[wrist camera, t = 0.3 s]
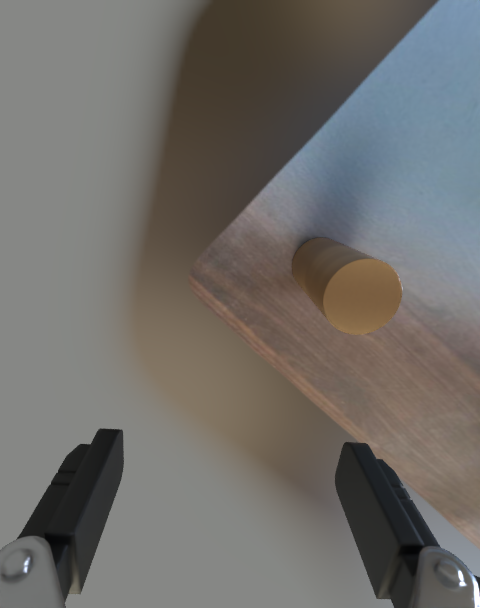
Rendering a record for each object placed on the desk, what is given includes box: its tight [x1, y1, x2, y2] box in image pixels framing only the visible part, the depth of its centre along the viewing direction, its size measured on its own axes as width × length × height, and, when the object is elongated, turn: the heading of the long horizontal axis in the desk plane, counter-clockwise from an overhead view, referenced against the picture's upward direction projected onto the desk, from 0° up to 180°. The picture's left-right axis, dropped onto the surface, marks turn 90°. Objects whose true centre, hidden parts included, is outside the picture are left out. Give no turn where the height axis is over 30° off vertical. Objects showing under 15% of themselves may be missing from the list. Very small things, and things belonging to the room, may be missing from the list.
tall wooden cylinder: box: [292, 238, 402, 334], centre depth 25 cm, size 5×5×10 cm
